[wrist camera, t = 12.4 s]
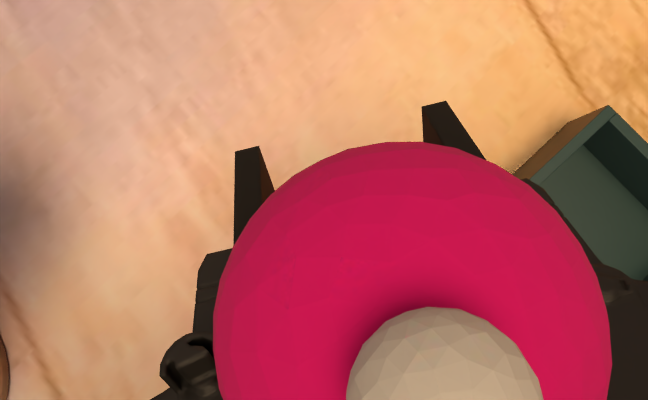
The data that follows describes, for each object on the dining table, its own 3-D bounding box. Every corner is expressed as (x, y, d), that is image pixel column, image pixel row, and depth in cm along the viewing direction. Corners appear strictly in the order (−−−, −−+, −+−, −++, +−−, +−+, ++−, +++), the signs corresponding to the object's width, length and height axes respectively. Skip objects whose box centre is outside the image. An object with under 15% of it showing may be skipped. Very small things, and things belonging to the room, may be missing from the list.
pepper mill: (267, 223, 24) (-154, 246, 4) (390, 158, 23) (657, -194, 3) (332, 349, 23) (258, 1159, 3) (458, 283, 23) (1202, 698, 3)
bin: (447, 235, 37) (466, 238, 32) (569, 121, 37) (609, 104, 32) (566, 360, 36) (607, 385, 31) (690, 243, 36) (753, 248, 31)
